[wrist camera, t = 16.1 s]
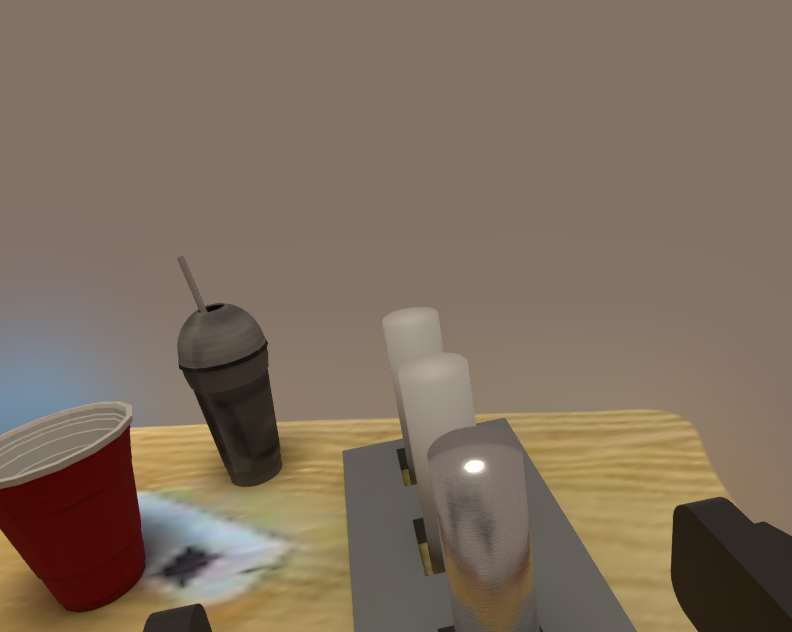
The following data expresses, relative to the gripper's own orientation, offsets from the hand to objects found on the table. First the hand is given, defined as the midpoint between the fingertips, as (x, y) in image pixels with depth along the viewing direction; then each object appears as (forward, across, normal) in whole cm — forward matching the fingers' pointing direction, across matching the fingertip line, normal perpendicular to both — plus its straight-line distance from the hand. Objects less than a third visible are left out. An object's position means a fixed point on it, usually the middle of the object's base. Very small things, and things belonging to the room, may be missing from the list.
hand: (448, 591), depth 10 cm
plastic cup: (+28, +21, +22) cm, 41 cm away
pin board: (+22, -4, +21) cm, 30 cm away
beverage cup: (+38, +11, +22) cm, 45 cm away
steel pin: (+13, -4, +21) cm, 25 cm away
